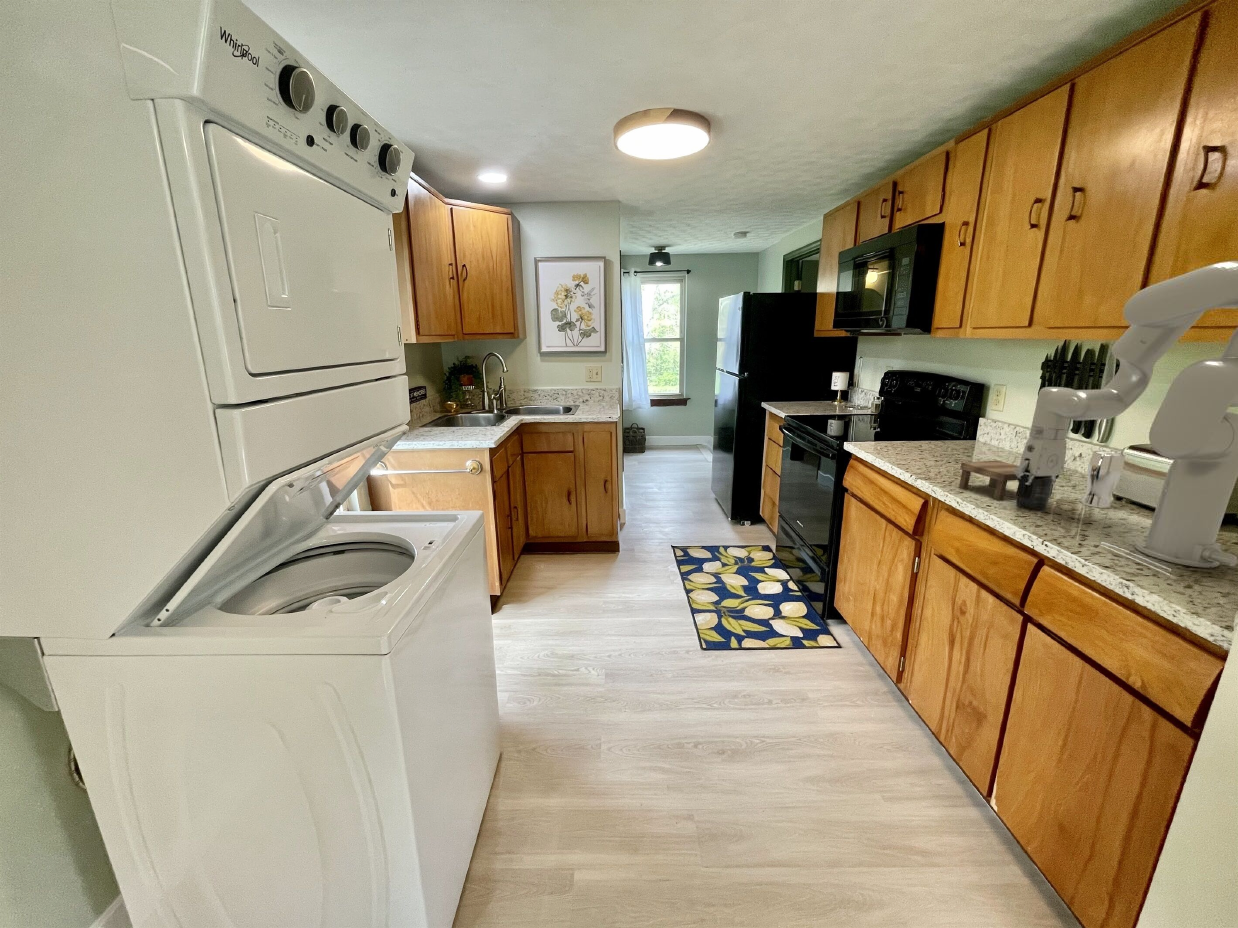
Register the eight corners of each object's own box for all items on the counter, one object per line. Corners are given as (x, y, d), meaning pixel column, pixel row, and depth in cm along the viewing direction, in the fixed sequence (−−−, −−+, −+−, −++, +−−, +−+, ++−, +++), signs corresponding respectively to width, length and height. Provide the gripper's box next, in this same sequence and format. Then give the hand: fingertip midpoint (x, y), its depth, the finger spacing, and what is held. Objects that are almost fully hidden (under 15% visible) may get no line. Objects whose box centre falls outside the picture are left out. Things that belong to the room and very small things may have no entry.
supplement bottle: (1047, 507, 140) (1057, 465, 137) (1045, 513, 135) (1055, 470, 132) (1016, 501, 144) (1025, 461, 141) (1013, 507, 139) (1023, 465, 136)
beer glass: (1119, 508, 139) (1134, 456, 135) (1093, 508, 139) (1108, 456, 135) (1096, 500, 146) (1110, 450, 142) (1072, 500, 146) (1085, 450, 142)
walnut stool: (1036, 498, 147) (1042, 472, 145) (998, 501, 144) (1004, 474, 142) (992, 484, 161) (997, 460, 159) (956, 487, 157) (961, 462, 155)
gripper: (1036, 437, 129) (1021, 503, 133) (1087, 435, 133) (1071, 499, 137) (1008, 432, 136) (995, 494, 140) (1057, 430, 140) (1043, 490, 144)
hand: (1033, 496), depth 139 cm, fingers closed on supplement bottle, 6 cm apart
